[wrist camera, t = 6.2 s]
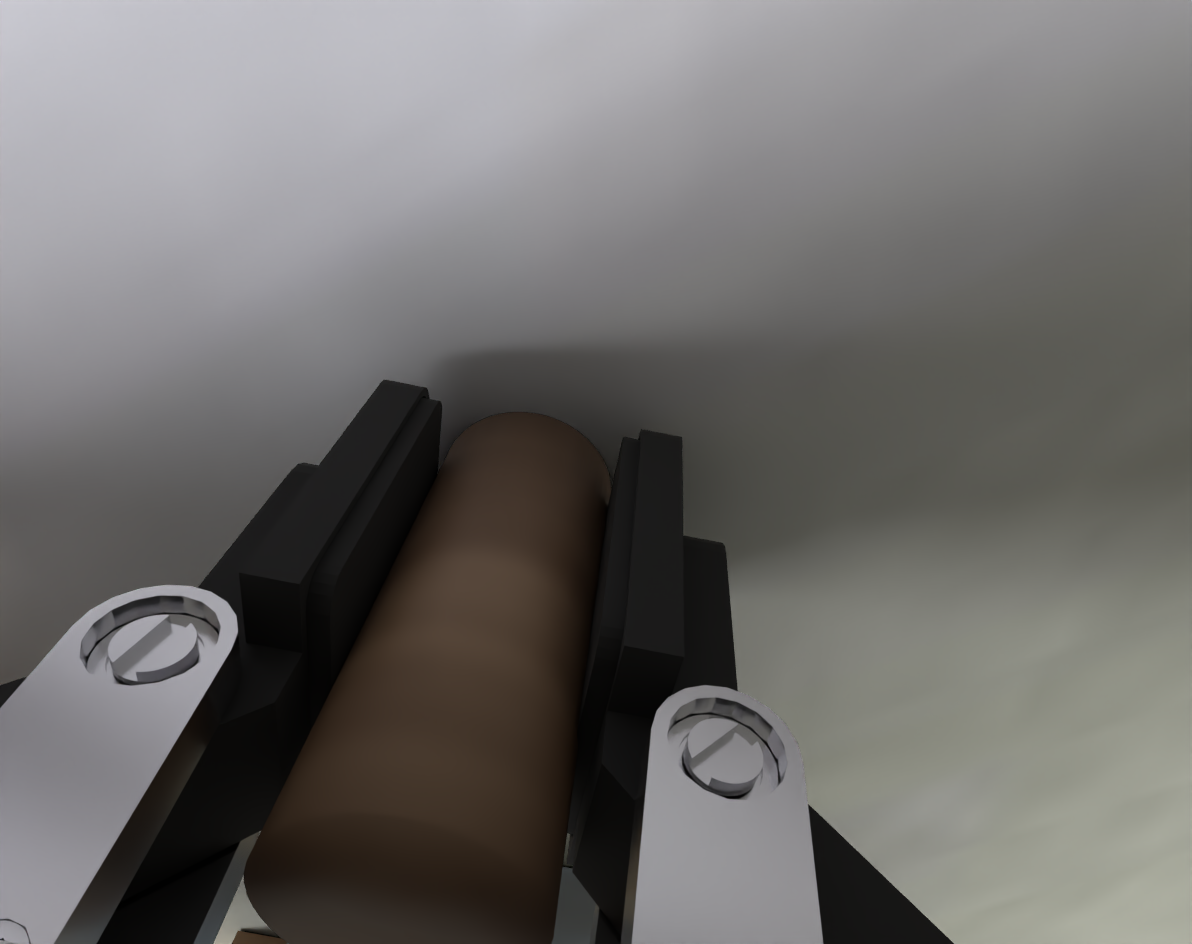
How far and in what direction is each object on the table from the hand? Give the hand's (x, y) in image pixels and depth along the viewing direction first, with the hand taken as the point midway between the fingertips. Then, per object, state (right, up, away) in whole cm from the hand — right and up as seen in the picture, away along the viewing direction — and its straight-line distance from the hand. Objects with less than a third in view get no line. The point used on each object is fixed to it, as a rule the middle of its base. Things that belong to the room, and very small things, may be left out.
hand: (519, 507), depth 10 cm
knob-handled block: (-1, -5, +4) cm, 7 cm away
